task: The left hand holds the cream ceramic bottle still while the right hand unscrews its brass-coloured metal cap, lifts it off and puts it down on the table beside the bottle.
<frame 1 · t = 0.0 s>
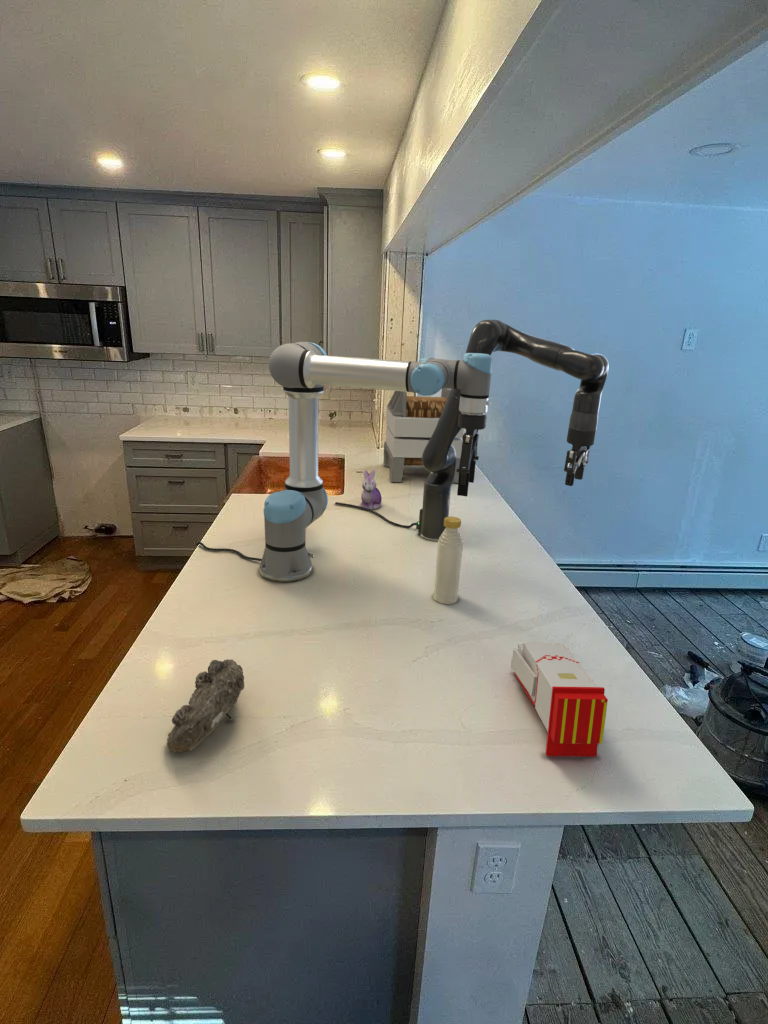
left hand: (465, 488, 159), 28 cm above the counter, tool pointing down, fingers open, 13 cm apart
right hand: (573, 482, 165), 29 cm above the counter, tool pointing down, fingers open, 8 cm apart
toy: (547, 707, 115), on the counter
transformer: (419, 473, 275), on the counter
figurine: (370, 506, 226), on the counter
bottle: (445, 597, 157), on the counter
cap: (452, 520, 149), point 23 cm above the counter, screwed on, not yet turned
fossil: (212, 717, 108), on the counter
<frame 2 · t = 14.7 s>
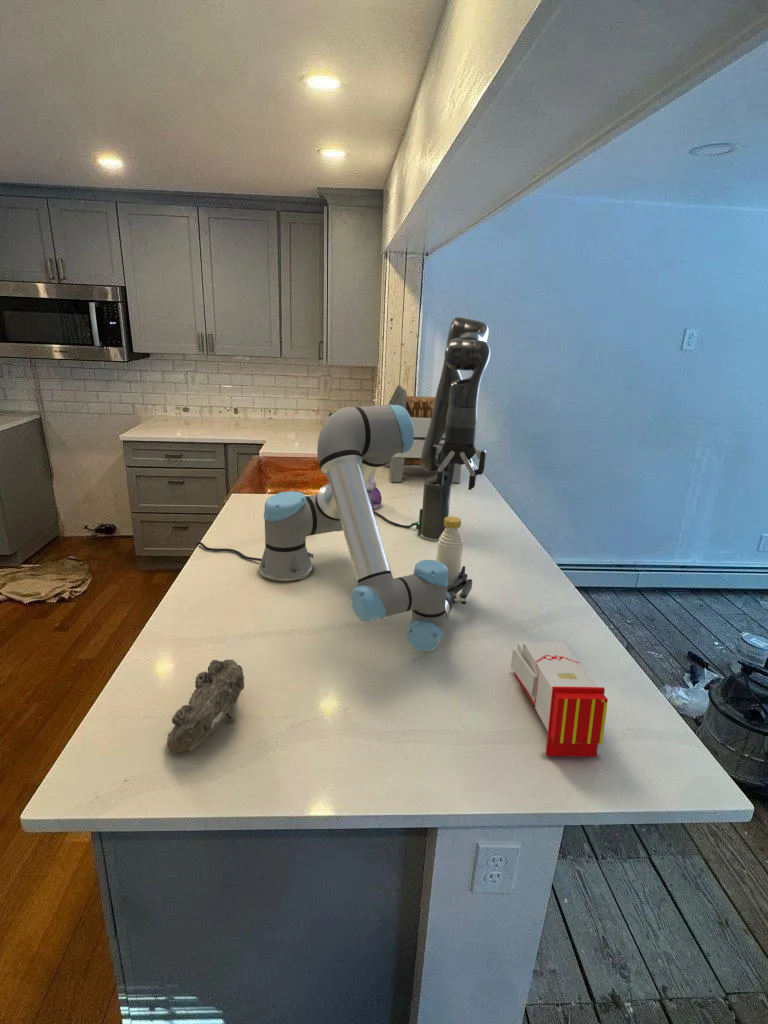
left hand: (450, 568, 159), 7 cm above the counter, tool horizontal, fingers closed on bottle, 7 cm apart
right hand: (455, 487, 146), 32 cm above the counter, tool pointing down, fingers open, 7 cm apart
bottle: (445, 597, 157), on the counter, touching left hand
everything else where it was.
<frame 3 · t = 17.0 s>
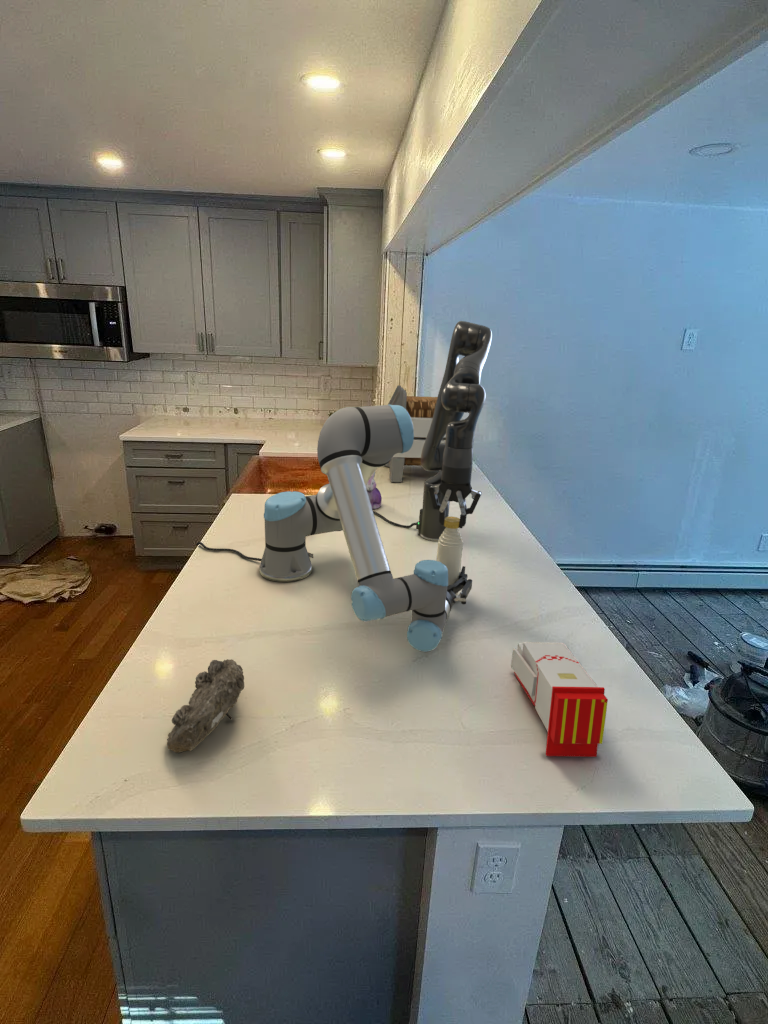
left hand: (450, 568, 159), 7 cm above the counter, tool horizontal, fingers closed on bottle, 7 cm apart
right hand: (452, 525, 150), 21 cm above the counter, tool pointing down, fingers closed on cap, 4 cm apart
bottle: (445, 597, 157), on the counter, touching left hand
cap: (452, 520, 149), point 23 cm above the counter, screwed on, not yet turned, touching right hand
everything else where it was.
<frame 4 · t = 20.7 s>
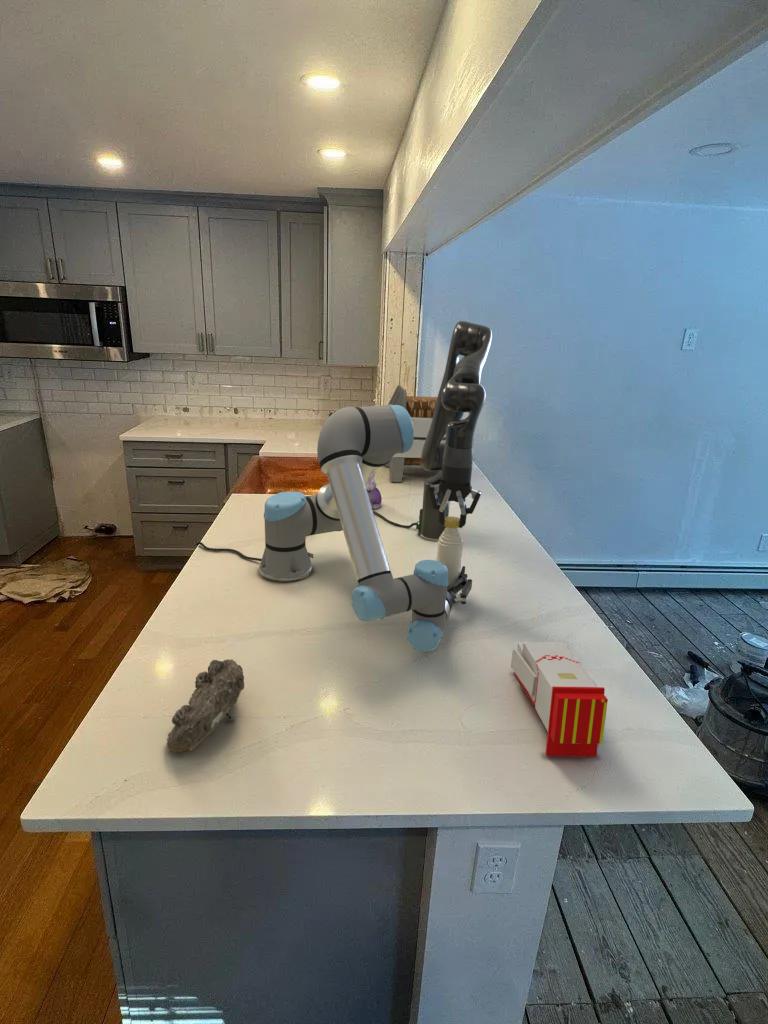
left hand: (450, 568, 159), 7 cm above the counter, tool horizontal, fingers closed on bottle, 7 cm apart
right hand: (451, 525, 150), 22 cm above the counter, tool pointing down, fingers closed on cap, 4 cm apart
bottle: (445, 597, 157), on the counter, touching left hand
cap: (452, 520, 149), point 23 cm above the counter, turned 85° so far, risen 0.1 cm, still on its thread, touching right hand
everything else where it was.
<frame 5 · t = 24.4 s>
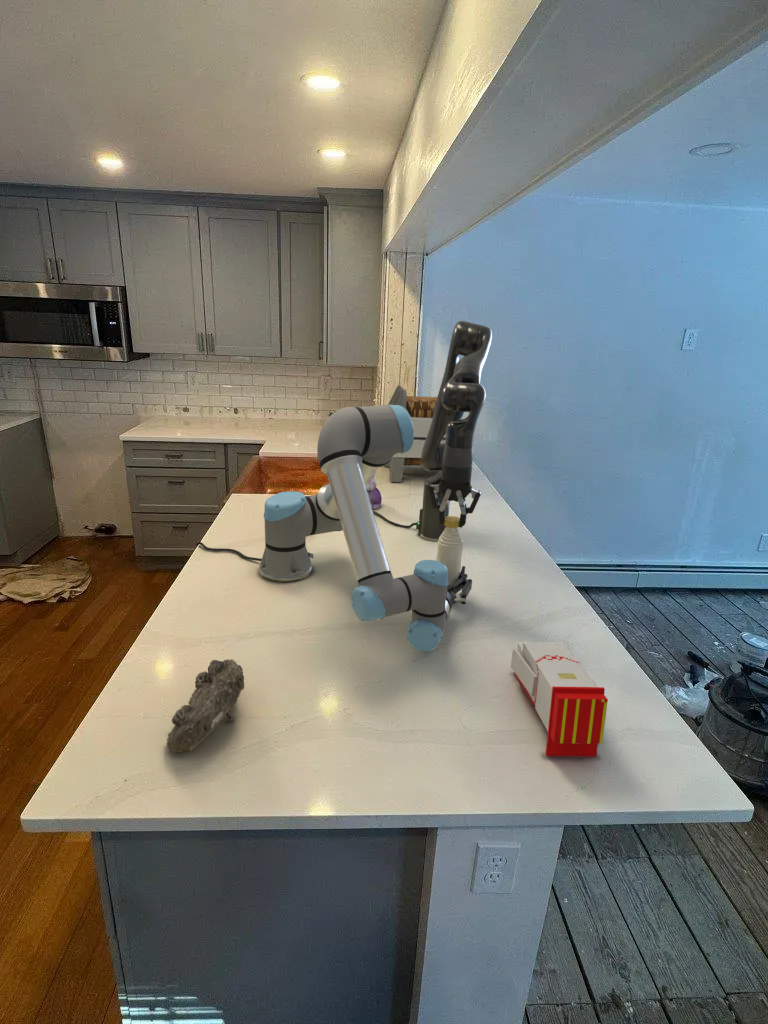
left hand: (450, 568, 159), 7 cm above the counter, tool horizontal, fingers closed on bottle, 7 cm apart
right hand: (451, 525, 150), 22 cm above the counter, tool pointing down, fingers closed on cap, 4 cm apart
bottle: (445, 597, 157), on the counter, touching left hand
cap: (452, 519, 149), point 23 cm above the counter, turned 170° so far, risen 0.2 cm, still on its thread, touching right hand
everything else where it was.
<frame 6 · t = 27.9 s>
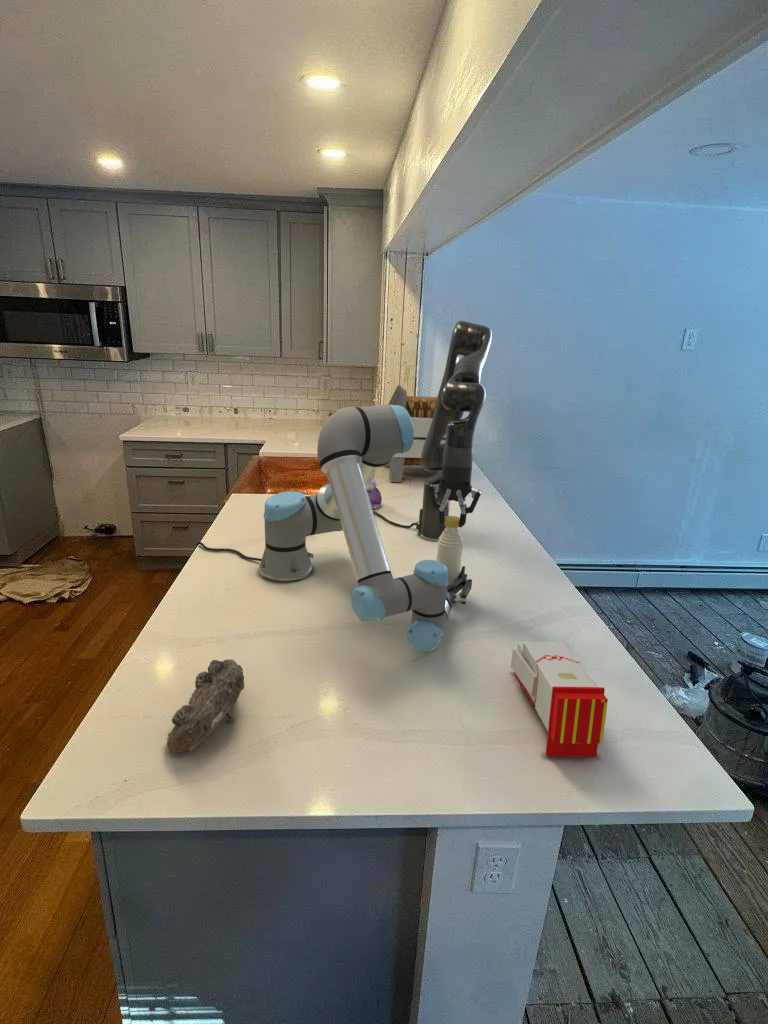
left hand: (450, 568, 159), 7 cm above the counter, tool horizontal, fingers closed on bottle, 7 cm apart
right hand: (451, 524, 150), 22 cm above the counter, tool pointing down, fingers closed on cap, 4 cm apart
bottle: (445, 597, 157), on the counter, touching left hand
cap: (452, 519, 149), point 23 cm above the counter, turned 256° so far, risen 0.2 cm, still on its thread, touching right hand
everything else where it was.
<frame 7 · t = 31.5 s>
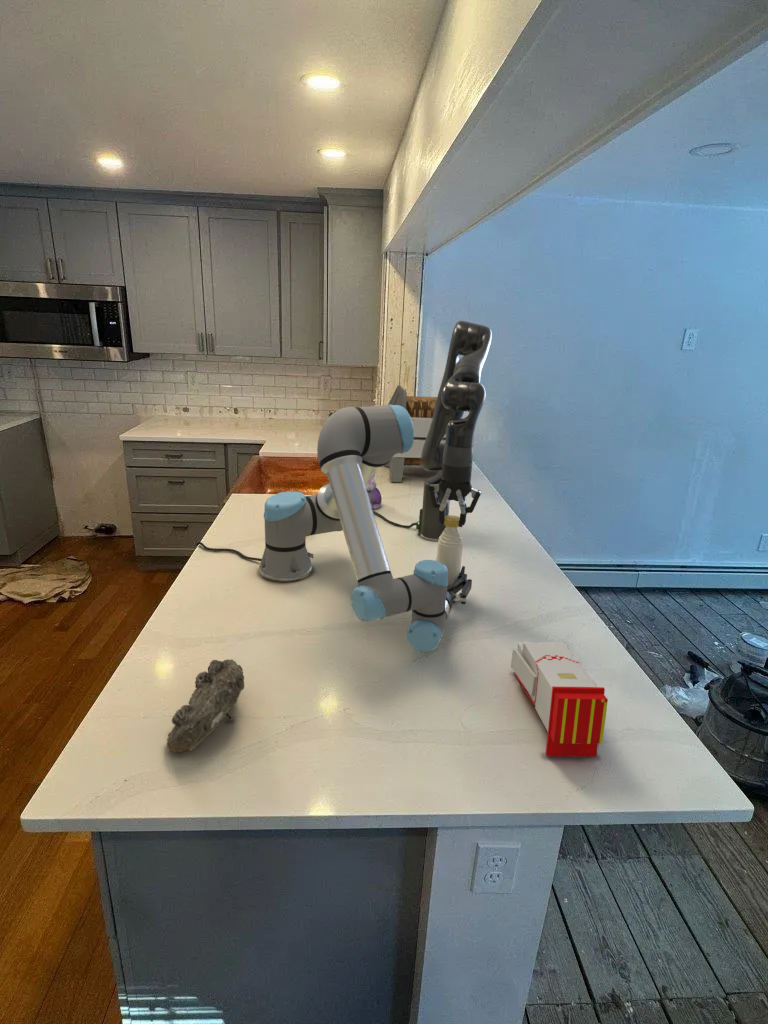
left hand: (450, 568, 159), 7 cm above the counter, tool horizontal, fingers closed on bottle, 7 cm apart
right hand: (451, 524, 149), 22 cm above the counter, tool pointing down, fingers closed on cap, 4 cm apart
bottle: (445, 597, 157), on the counter, touching left hand
cap: (452, 519, 149), point 23 cm above the counter, turned 341° so far, risen 0.3 cm, still on its thread, touching right hand
everything else where it was.
when the right hand's fingers open (1 cm above the counter, at t = 42.4 s): cap drops 1 cm, point 1 cm above the counter.
when the left hand's fingers open (7 cm above the counter, at t = 43.5 s): bottle stays where it is, on the counter.
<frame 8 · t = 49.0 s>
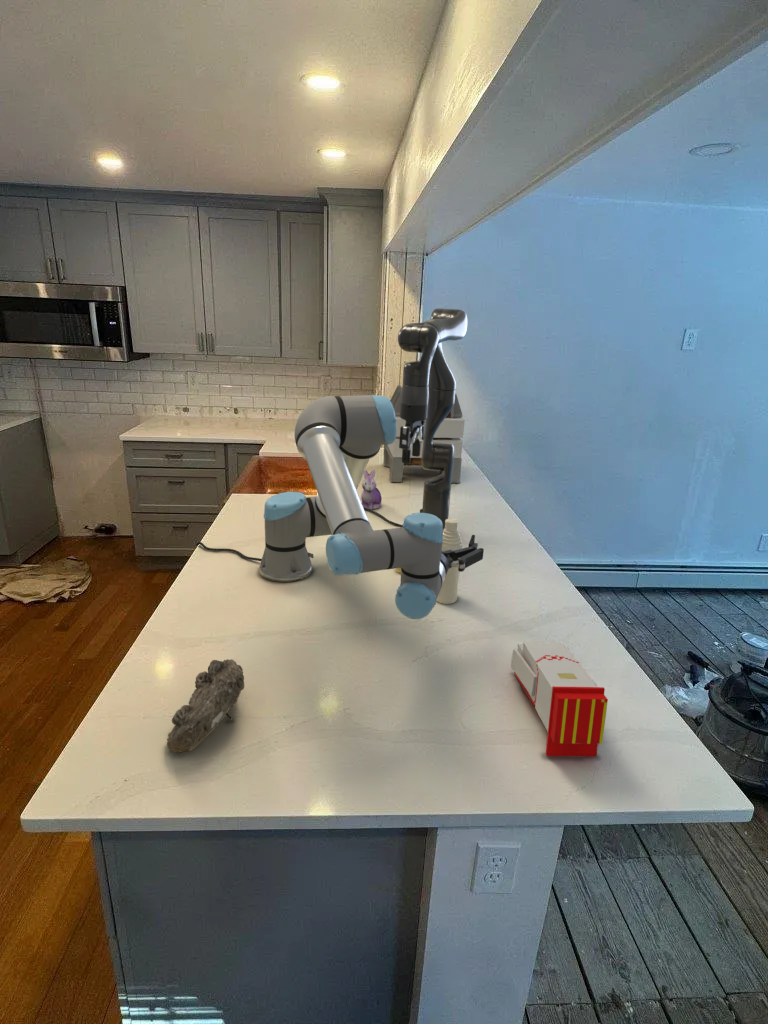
left hand: (445, 536, 140), 22 cm above the counter, tool horizontal, fingers open, 13 cm apart
right hand: (411, 459, 160), 35 cm above the counter, tool pointing down, fingers open, 8 cm apart
bottle: (444, 597, 157), on the counter
cap: (404, 566, 171), point 1 cm above the counter, off its thread
everything else where it was.
at the end: cap came off its thread; cap point 1.5 cm above the counter; the left hand is holding nothing; the right hand is holding nothing; bottle tilted 0°; bottle moved 0.2 cm from its start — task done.
